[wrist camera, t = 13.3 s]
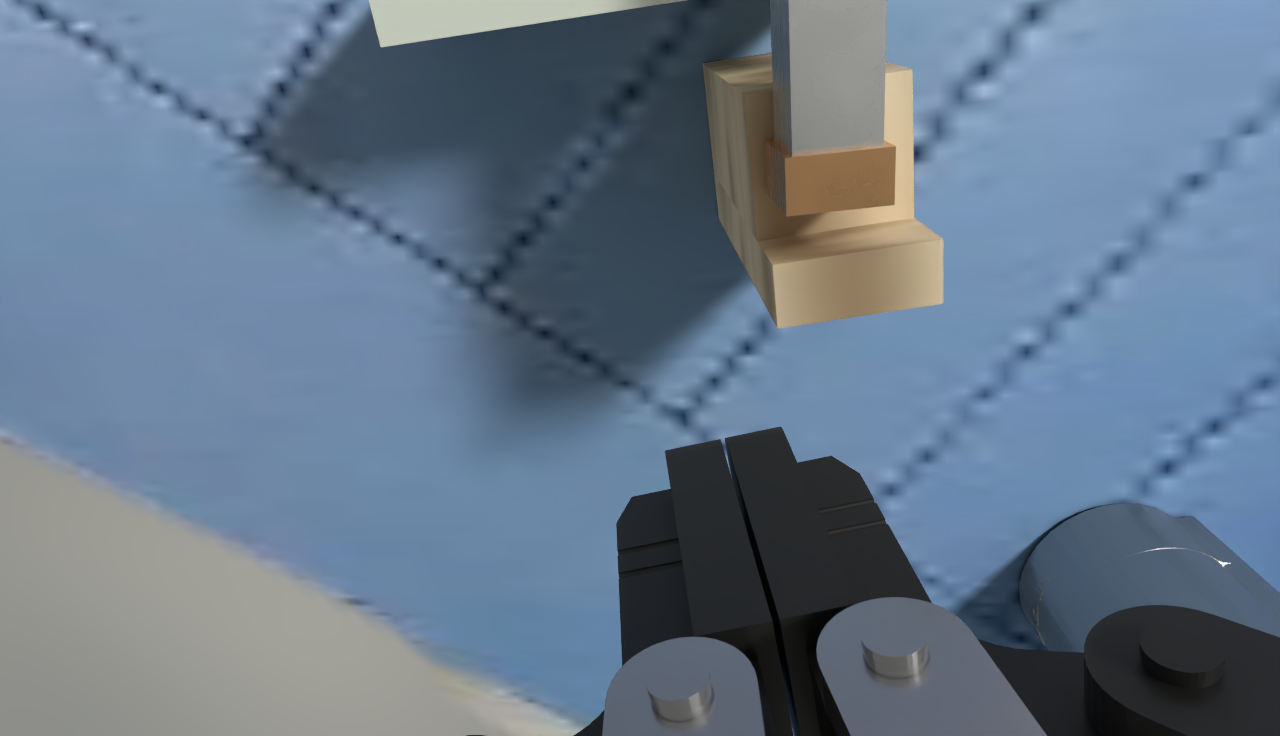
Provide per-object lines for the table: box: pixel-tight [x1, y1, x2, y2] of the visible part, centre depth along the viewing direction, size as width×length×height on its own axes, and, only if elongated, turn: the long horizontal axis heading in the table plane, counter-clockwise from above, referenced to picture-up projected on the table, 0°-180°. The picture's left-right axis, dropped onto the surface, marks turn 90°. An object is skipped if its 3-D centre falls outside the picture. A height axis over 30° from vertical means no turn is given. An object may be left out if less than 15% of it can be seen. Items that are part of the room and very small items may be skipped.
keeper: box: [703, 53, 943, 328], centre depth 31 cm, size 5×6×13 cm
